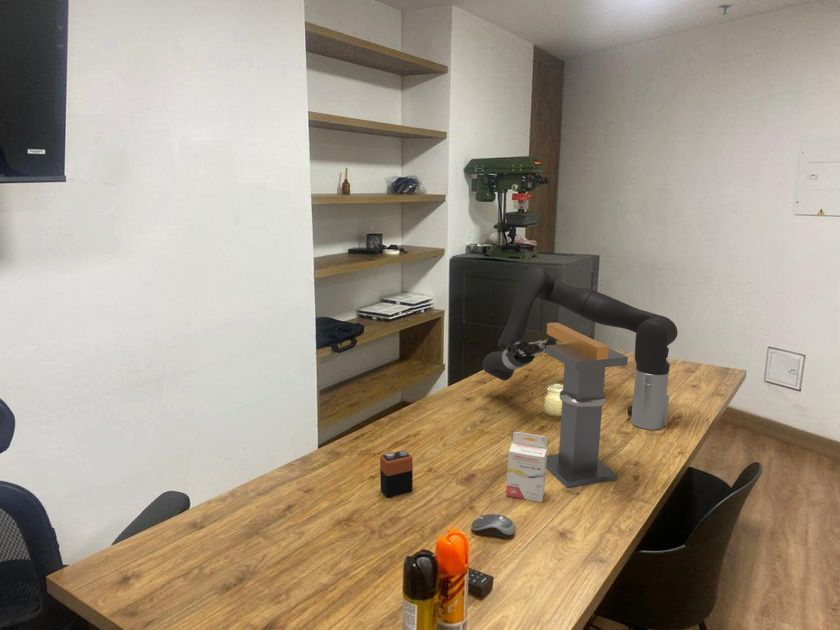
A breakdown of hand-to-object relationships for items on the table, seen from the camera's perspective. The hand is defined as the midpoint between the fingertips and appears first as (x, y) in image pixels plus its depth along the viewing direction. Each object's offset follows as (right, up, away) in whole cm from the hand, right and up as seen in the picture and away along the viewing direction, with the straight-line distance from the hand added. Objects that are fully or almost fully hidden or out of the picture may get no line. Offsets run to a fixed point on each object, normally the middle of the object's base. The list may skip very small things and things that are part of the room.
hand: (540, 341), depth 165 cm
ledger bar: (+5, 0, -18) cm, 18 cm away
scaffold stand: (+6, -32, -15) cm, 36 cm away
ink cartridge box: (-9, -35, -26) cm, 45 cm away
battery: (-40, -35, -25) cm, 58 cm away
